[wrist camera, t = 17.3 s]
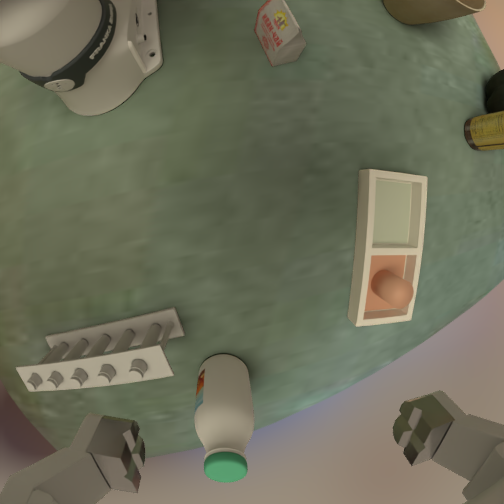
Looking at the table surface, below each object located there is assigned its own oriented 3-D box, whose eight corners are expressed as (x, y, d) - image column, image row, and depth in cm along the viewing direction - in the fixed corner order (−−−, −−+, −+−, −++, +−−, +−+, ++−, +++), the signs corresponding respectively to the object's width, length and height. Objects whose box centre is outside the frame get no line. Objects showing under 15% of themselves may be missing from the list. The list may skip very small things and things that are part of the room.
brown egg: (373, 268, 41) (392, 279, 35) (395, 270, 42) (416, 281, 36) (368, 294, 42) (386, 308, 36) (390, 295, 42) (409, 309, 36)
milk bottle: (215, 344, 43) (212, 444, 23) (257, 366, 44) (277, 465, 25) (190, 377, 44) (176, 476, 24) (231, 397, 45) (236, 495, 26)
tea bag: (278, 25, 34) (291, -12, 24) (296, 61, 35) (315, 29, 25) (254, 30, 33) (262, -8, 24) (272, 66, 35) (285, 34, 25)
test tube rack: (175, 306, 41) (156, 354, 28) (185, 333, 42) (172, 387, 29) (47, 335, 40) (7, 374, 27) (58, 357, 41) (23, 399, 28)
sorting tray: (358, 169, 39) (369, 168, 36) (414, 176, 40) (427, 176, 36) (347, 317, 44) (355, 326, 40) (400, 311, 45) (410, 320, 41)
